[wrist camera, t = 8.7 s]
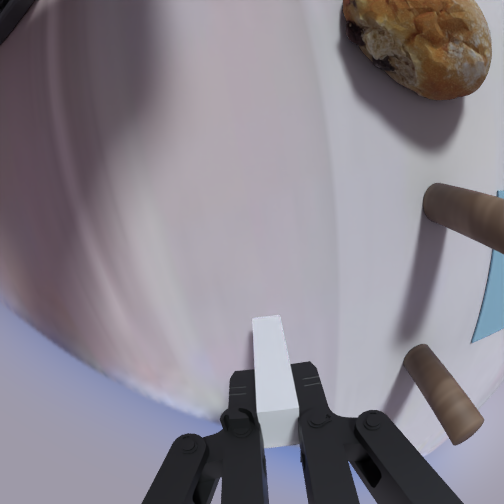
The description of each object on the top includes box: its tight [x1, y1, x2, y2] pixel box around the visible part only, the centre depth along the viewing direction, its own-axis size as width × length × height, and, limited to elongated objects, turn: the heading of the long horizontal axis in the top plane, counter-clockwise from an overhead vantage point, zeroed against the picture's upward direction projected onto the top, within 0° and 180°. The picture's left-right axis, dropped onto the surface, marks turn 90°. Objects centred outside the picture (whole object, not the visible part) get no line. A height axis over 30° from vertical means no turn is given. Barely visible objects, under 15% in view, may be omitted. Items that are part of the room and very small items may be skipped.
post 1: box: [423, 183, 504, 254], centre depth 11 cm, size 3×3×9 cm
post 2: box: [404, 344, 484, 445], centre depth 15 cm, size 3×3×9 cm
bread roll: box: [343, 0, 492, 100], centre depth 10 cm, size 10×10×8 cm
